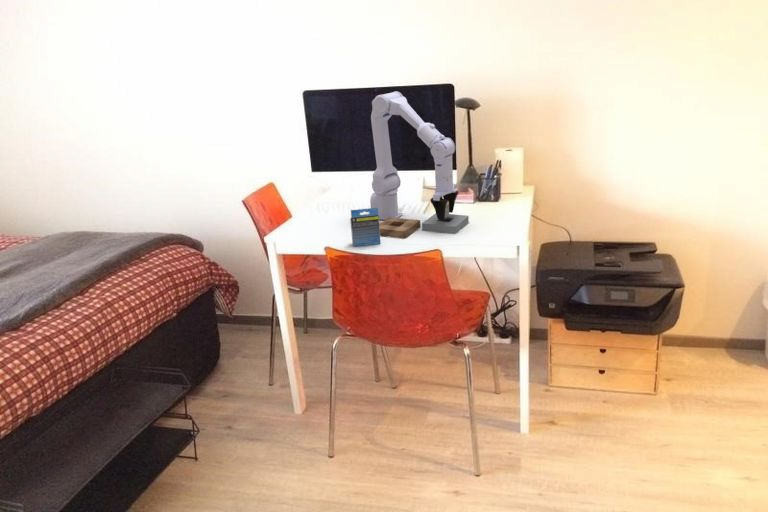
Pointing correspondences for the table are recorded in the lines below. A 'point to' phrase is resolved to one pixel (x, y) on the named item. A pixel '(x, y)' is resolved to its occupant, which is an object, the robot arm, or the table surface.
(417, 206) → the table surface
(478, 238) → the table surface
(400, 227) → the socket block
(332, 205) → the table surface
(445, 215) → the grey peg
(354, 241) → the label tape box
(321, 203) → the table surface
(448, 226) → the block
